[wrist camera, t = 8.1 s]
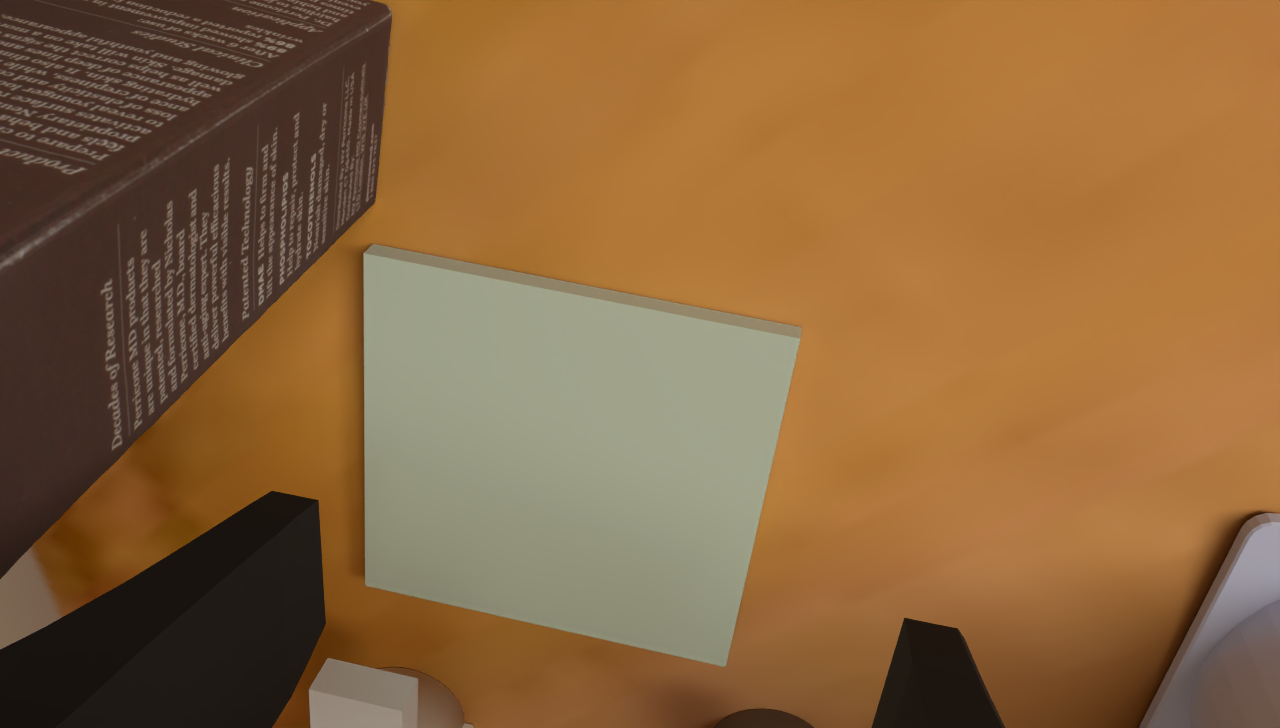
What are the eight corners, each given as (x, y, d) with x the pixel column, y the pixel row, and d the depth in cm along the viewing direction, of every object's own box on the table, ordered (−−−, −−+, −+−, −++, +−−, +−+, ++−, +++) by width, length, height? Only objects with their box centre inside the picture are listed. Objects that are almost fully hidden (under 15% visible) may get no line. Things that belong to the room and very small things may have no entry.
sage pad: (801, 327, 22) (800, 338, 21) (728, 652, 26) (725, 667, 26) (372, 243, 23) (363, 253, 22) (372, 572, 27) (365, 585, 27)
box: (113, 147, 23) (-520, 475, 12) (104, -78, 20) (-683, 91, 10) (388, 224, 22) (-24, 626, 12) (410, 4, 20) (-76, 267, 10)
